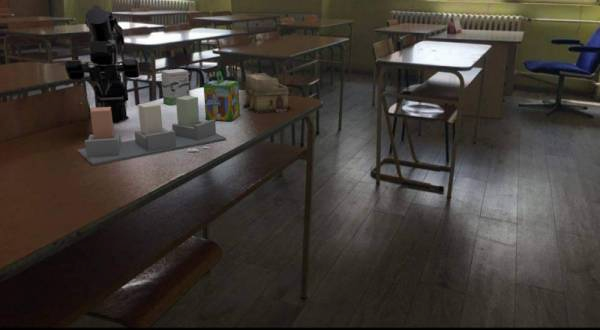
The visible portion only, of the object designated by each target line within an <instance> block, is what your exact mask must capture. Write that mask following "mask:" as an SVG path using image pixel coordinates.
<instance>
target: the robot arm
mask: <svg viewBox="0 0 600 330" xmlns="http://www.w3.org/2000/svg"><path fill="white" fill-rule="evenodd" d="M85 25H86V27H87V28H88V31H89V34H90V36H91V41H89V43H88V44H89V46H88V47H89V59H90V62H88V63H87V65H86V64H85V65H83V62H82V60H81V59H71V60H66V61H65V63H64V68H65V71H66V74H67V77H68V79H69V80H71V81H75V80H76V81H77V80H78V81H79V80H83V79H84V78H85V74H89V75H88V76H89V78H90V81H91V82H95V83H94V91H95V97H96V102H97V104H99V103H100V107H111V113H112V121H113V123H114V124H115V123H117V124H118V123H121V122H123V121H125V120H127V119H130V117H129V116H127V115H128V114H127V107H126V105H125V102H127V101H129V93H128V87H127V85H126V84H125V82H124V81H123V80H122V75H121V72H124V76H125V77H126V78H128V79H131V78H133V79H134V78H135V79H137V78H139V77H140V69H139V68H140V67H139V62H138V61H139V60H138V59H136V58H122V59H121V60H122V63H118V62H119V60H118V59H119V57H118V56H119V54H121V53H122V52H123V50H124V46H125V45H126V44H125V43H126V42H125V34H124V29H123V27H122V26H121V25H119V21H118V18H117V17H116V15H114V13H113V11H106V10H105V9H103V8H102V6H101V5H93V6H92V8H90V9H89V10H88V11H87V12H86V14H85Z"/></svg>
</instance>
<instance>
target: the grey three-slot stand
mask: <svg viewBox="0 0 600 330" xmlns="http://www.w3.org/2000/svg"><path fill="white" fill-rule="evenodd" d="M216 125H217V124H216V120H206V121H203V120H199V124H197V125H194V127H190V126H185V125H179V124H178V123H173V124H172V126H171V128H172V129H171V130H167V129H165V128H164V127H162V129H163V132H160V133H154V134H148V135H145V134H143V133H142V132H141V130H135V131H134V139H132V140H131V139H130V140H126V141H122V137H121V132H116V133H115V132H114V138H111V139H95V140H94V135H93V134H89V136H88V139H85V140H84V145H85V148H79V149H77V152H78V154H80V156H82V157H83V158H84V157H85V158H86V159H87V162H88V163H90V164H91V165H92V166H99V165H104V164H109V163H113V162H120V161H124V160H129V159H134V158H141V157H145V156H146V157H147V156H150V155H156V154H162V153H166V152H170V151H175V150H182V149H186V148H193V147H196V146H202V145H207V144H212V143H213V144H214V143H218V142H224V141H226V140H227V137H225V136H224V135H223V136H222V135H221V134H219V133H217V129H216V128H217V127H216ZM85 158H84V159H85Z"/></svg>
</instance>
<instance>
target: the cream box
mask: <svg viewBox="0 0 600 330" xmlns="http://www.w3.org/2000/svg"><path fill="white" fill-rule="evenodd" d="M137 106H138V107H137V108H138V116H139V126H140V132H142V133H143V134H145V135H148V134H154V133H160V132H163V129H162V128H163V119H162V107H161V106H162V105H161V104H160V103H157V102H154V101H153V102H148V103H140V104H137Z"/></svg>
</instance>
